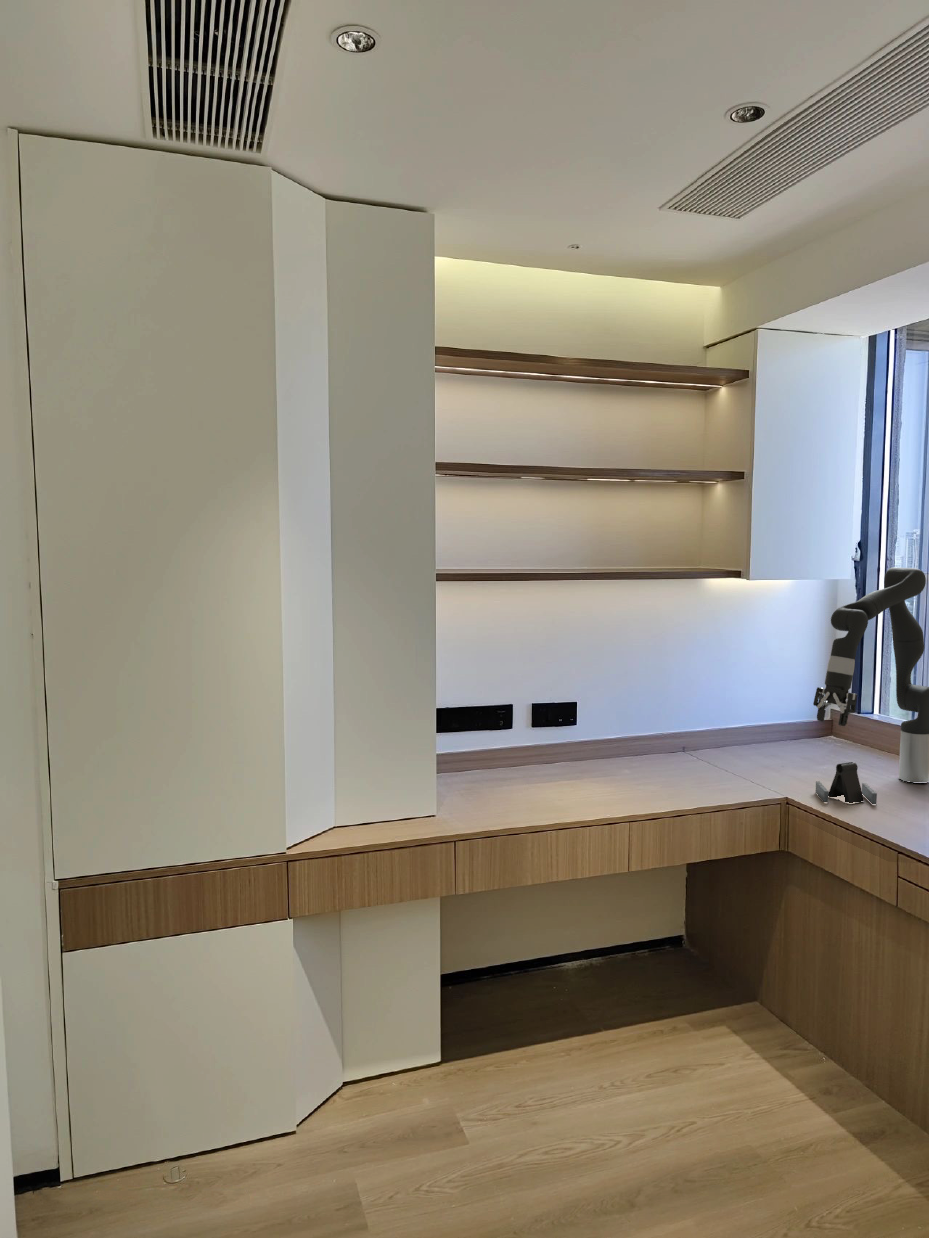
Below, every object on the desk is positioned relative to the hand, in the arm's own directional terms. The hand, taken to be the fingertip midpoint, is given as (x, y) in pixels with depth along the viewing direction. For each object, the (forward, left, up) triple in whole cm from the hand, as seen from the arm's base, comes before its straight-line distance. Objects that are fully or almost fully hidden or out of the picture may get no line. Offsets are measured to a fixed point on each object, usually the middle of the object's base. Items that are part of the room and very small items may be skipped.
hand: (830, 723), depth 256 cm
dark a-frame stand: (-6, +7, -26) cm, 28 cm away
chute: (-7, +7, -26) cm, 28 cm away
